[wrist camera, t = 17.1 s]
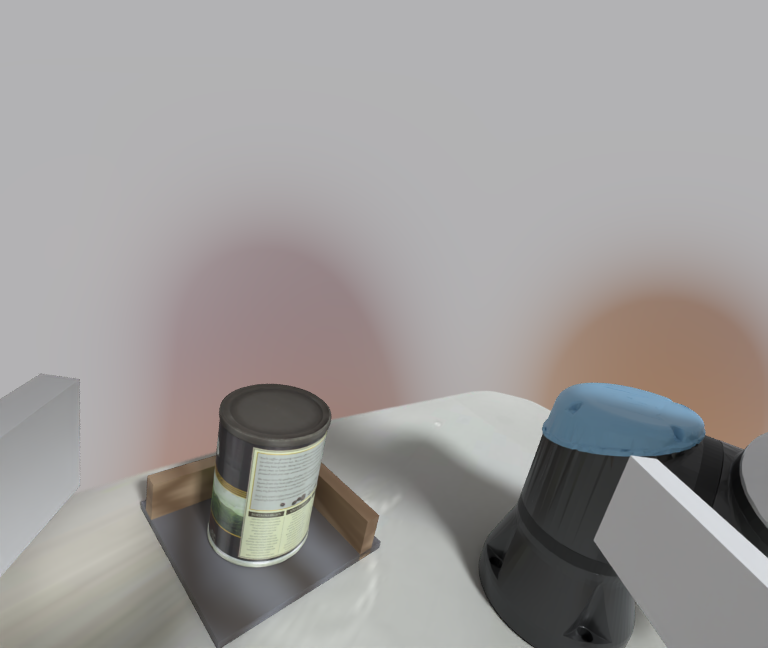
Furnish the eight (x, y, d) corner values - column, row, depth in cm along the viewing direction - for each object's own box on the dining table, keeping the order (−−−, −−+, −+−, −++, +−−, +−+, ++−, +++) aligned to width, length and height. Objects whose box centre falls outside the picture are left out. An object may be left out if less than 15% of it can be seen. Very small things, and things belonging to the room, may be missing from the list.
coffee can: (185, 551, 40) (196, 420, 36) (236, 483, 50) (250, 374, 46) (289, 582, 40) (313, 451, 36) (321, 507, 49) (342, 398, 45)
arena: (287, 457, 58) (292, 425, 57) (379, 547, 47) (388, 510, 45) (140, 507, 45) (142, 467, 44) (217, 649, 34) (223, 602, 32)
